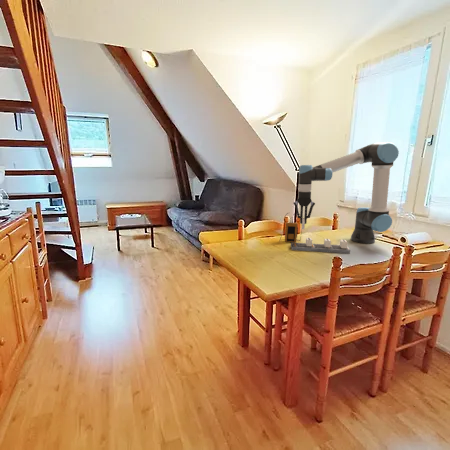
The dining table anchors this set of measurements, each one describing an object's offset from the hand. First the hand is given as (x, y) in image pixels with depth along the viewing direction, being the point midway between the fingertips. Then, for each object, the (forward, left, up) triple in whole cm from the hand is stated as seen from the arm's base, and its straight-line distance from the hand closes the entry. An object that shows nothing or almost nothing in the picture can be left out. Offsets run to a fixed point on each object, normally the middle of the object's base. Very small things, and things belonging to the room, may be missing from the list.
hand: (302, 228), depth 181 cm
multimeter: (+7, -15, -12) cm, 20 cm away
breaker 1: (-4, +2, -10) cm, 11 cm away
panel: (-10, +2, -12) cm, 16 cm away
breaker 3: (-24, +2, -10) cm, 26 cm away
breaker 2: (-15, +2, -10) cm, 18 cm away
